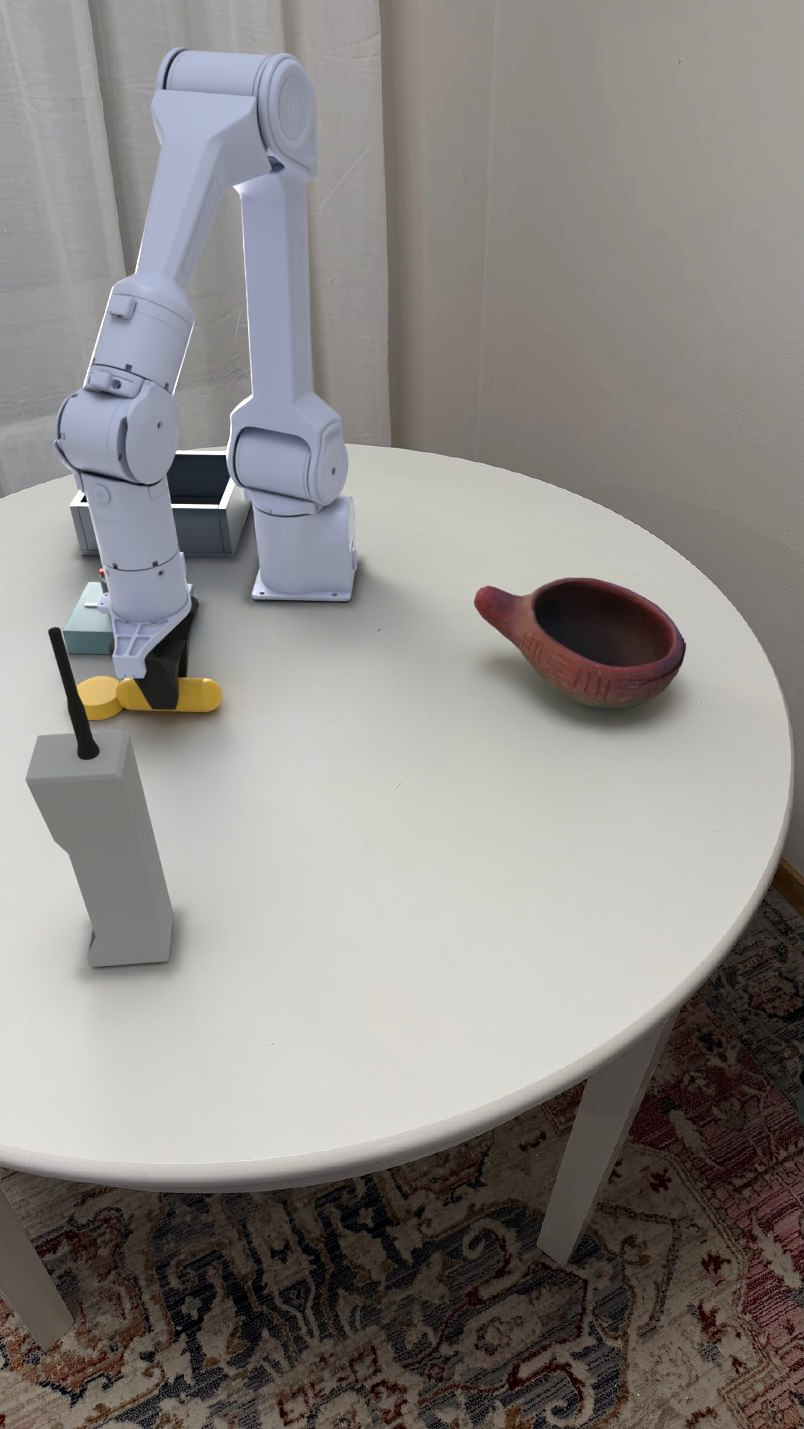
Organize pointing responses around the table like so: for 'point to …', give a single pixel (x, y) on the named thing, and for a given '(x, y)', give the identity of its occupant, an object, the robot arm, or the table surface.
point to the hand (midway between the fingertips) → (169, 693)
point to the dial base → (91, 623)
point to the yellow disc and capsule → (111, 696)
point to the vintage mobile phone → (103, 831)
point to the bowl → (589, 639)
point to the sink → (189, 507)
